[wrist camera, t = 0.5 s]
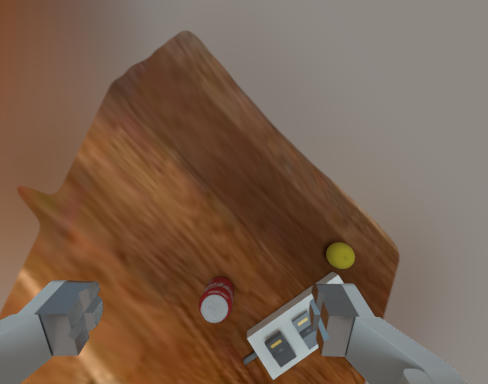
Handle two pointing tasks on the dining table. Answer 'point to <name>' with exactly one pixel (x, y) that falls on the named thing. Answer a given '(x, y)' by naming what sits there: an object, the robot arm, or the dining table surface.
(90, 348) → the dining table surface
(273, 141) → the dining table surface
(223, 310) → the beverage can
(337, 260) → the lemon
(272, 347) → the rocker
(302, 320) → the rocker
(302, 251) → the dining table surface
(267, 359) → the rocker switch panel
